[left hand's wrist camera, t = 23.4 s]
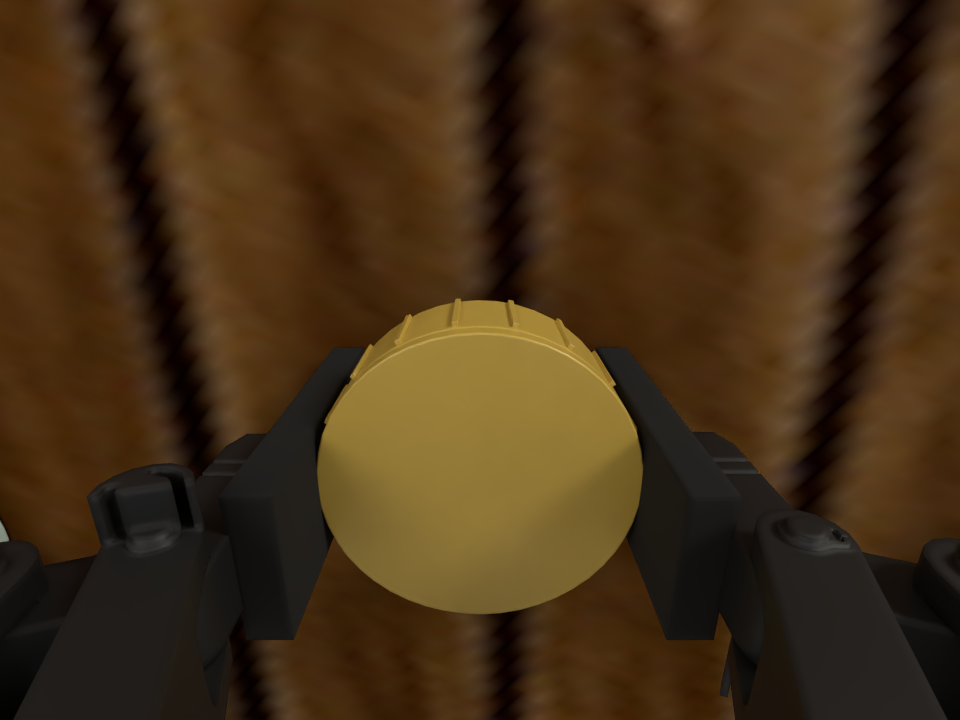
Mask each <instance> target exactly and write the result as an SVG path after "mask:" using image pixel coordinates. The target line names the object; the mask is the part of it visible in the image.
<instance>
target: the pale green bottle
mask: <svg viewBox="0 0 960 720" xmlns="http://www.w3.org/2000/svg"><path fill="white" fill-rule="evenodd" d="M5 541H9V538H8V536H7V533H6V531H5V528H4V526H3V525H2V523H1V521H0V542H5Z"/></svg>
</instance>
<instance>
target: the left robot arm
mask: <svg viewBox="0 0 960 720" xmlns="http://www.w3.org/2000/svg"><path fill="white" fill-rule="evenodd" d="M596 353H597V355H598V356H599V358H600V359H601V361H602V363H603V364H604V366H605V368H606V369H607V371H608V373H609V374H610V376H611V377H612V379H613V381H614V382H615V384H616V385H615V386H613V388H614V390H615V391H616V393H617V395H618V397H619V398H620V400H621V402H622V403H623V405H624V407H625V408H626V410H627V412H628V414H629V415H630V417H631V419H632V420H633V422H634V424H635V425H636V427H637V436H638V439H639V443H640V446H641V451H642V459H643V476H642V485H641V493H640V501H639V507H638V510H637V513H636V516H635V519H634V521H633V523H632V525H631V527H630V529H629V531H628V533H627V535H626V537H627V539H628V542H629V544H630V547H631V550H632V552H633V555H634V557H635V560H636V562H637V565H638V568H639V570H640V573H641V575H642V578H643V580H644V583H645V585H646V588H647V591H648V593H649V596H650V598H651V601H652V603H653V606H654V609H655V611H656V614H657V616H658V619H659V621H660V624H661V626H662V629H663V632H664V634H665V637H666V639H667V640H714V635H715V630H716V625H717V620H718V615H719V611H720V613H721V615H722V617H723V619H724V621H725V623H726V625H727V627H728V628H729V630H730V632H731V634H732V637H731V641H730V646H729V650H728V655H727V660H726V664H725V669H724V674H723V678H722V683H721V690H720V695H721V696H725V697H728V692H729V688H730V685H731V690H732V698H733V705H734V713H735V720H960V539H953V538H942V539H932V540H931V541H930V542H928V543H927V544H925V545H924V547H923V550H922V552H921V555H920V558H919V561H918V564H917V563H912V562H907V561H902V560H897V559H892V558H887V557H882V556H877V555H872V554H868V553H864V552H862V551H861V549H860V547H859V545H858V544H857V543H856V542H855V540H854V539H853V538H852V537H851V536H850V534H849V533H847V532H846V531H844V530H843V529H842V528H840V527H839V526H837V525H836V524H834V523H833V522H830V521H828V520H826V519H824V518H821V517H819V516H817V515H814V514H811V513H807V512H803V511H799V510H793V509H792V508H791V507H790V506H789V505H788V504H787V503H786V502H785V501H784V499H783V498H782V497H781V496H780V495H779V494H778V493H777V492H776V491H775V489H774V488H773V487H772V486H771V485H770V484H769V483H768V482H767V481H766V479H765V478H764V477H763V476H762V475H761V474H758V470H757V469H756V468H755V467H754V466H753V465H752V464H751V463H750V462H747V458H746V457H745V456H744V455H743V454H742V453H741V451H740V450H739V449H738V448H737V447H736V446H735V445H734V444H733V443H731V442H729V441H727V440H726V439H724V438H722V437H721V436H719V435H717V434H716V433H714V432H691V431H690V429H689V428H688V427H687V425H686V424H685V423H684V422H683V420H682V419H681V418H680V416H679V415H678V414H677V413H676V411H675V410H674V409H673V407H672V406H671V405H670V404H669V402H668V401H667V400H666V399H665V397H664V396H663V395H662V393H661V392H660V391H659V390H658V388H657V387H656V386H655V384H654V383H653V382H652V381H651V379H650V378H649V377H648V375H647V374H646V373H645V372H644V370H643V369H642V368H641V366H640V365H639V364H638V363H637V361H636V360H635V359H634V358H633V356H632V355H631V354H630V352H629V351H628V350H627V349H626V348H597V349H596ZM363 354H364V348H334V349H333V350H332V351H331V353H330V354H329V355H328V356H327V358H326V359H325V360H324V362H323V363H322V364H321V365H320V367H319V368H318V369H317V371H316V372H315V373H314V374H313V376H312V377H311V378H310V380H309V381H308V382H307V383H306V385H305V386H304V387H303V389H302V390H301V391H300V392H299V394H298V395H297V396H296V397H295V399H294V400H293V401H292V403H291V404H290V405H289V406H288V408H287V409H286V410H285V412H284V413H283V414H282V415H281V417H280V418H279V419H278V421H277V422H276V423H275V424H274V426H273V427H272V428H271V430H270V431H269V432H268V433H267V434H246V435H245V436H243V437H241V438H239V439H238V440H236V441H234V442H233V443H231V444H229V445H228V446H226V447H225V448H224V449H223V451H222V452H221V453H220V454H219V455H218V456H217V457H216V458H215V460H214V462H213V464H210V465H209V466H208V467H207V469H206V470H205V471H204V472H203V476H199V478H198V479H197V480H196V481H195V479H194V474H193V471H191V470H190V469H189V468H187V467H186V466H183V465H177V464H172V463H168V464H152V465H148V466H143V467H139V468H134V469H131V470H129V471H126V472H123V473H121V474H118V475H116V476H113V477H111V478H110V479H108V480H106V481H105V482H103V483H101V484H100V485H98V486H97V487H96V488H95V489H94V490H93V491H92V492H91V493H90V494H89V495H88V496H87V499H88V503H89V506H90V509H91V512H92V516H93V519H94V522H95V526H96V529H97V532H98V536H99V539H100V542H101V548H100V550H99V552H98V554H97V555H94V556H90V557H85V558H80V559H75V560H70V561H65V562H60V563H55V564H50V565H45V566H43V563H42V560H41V557H40V554H39V552H38V549H37V547H35V546H34V545H32V544H31V543H29V542H25V541H14V540H12V541H5V542H0V720H225V714H226V707H227V699H228V691H229V684H230V676H231V668H232V661H233V659H232V652H231V646H230V641H229V636H230V634H231V632H232V630H233V628H234V626H235V624H236V622H237V620H238V618H239V617H240V615H241V614H242V619H243V624H244V629H245V634H246V639H247V640H294V637H295V635H296V632H297V630H298V627H299V624H300V622H301V619H302V617H303V614H304V612H305V609H306V607H307V604H308V601H309V599H310V596H311V594H312V591H313V589H314V586H315V583H316V581H317V578H318V576H319V573H320V571H321V568H322V565H323V563H324V560H325V558H326V555H327V553H328V550H329V548H330V545H331V542H332V540H333V537H334V536H333V534H332V532H331V531H330V529H329V527H328V525H327V522H326V520H325V517H324V514H323V512H322V509H321V502H320V494H319V486H318V477H317V455H318V450H319V446H320V442H321V438H322V434H323V431H324V429H325V427H326V424H325V423H324V422H325V419H326V417H327V416H328V414H329V412H330V411H331V409H332V407H333V406H334V404H335V402H336V400H337V399H338V397H339V395H340V394H341V392H342V390H343V389H344V387H345V385H346V384H347V385H348V384H349V382H350V381H351V378H350V376H351V374H352V372H353V371H354V369H355V367H356V366H357V364H358V362H359V361H360V359H361V357H362V356H363Z"/></svg>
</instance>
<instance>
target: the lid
mask: <svg viewBox="0 0 960 720" xmlns="http://www.w3.org/2000/svg"><path fill="white" fill-rule="evenodd" d="M350 378H351V381H350V382H349V384H348V385H347V384H346V385H345V387H344V389H343V390H342V392H341V394H340V395H339V397H338V399H337V400H336V402H335V404H334V406H333V407H332V409H331V411H330V412H329V414H328V416H327V417H326V419H325V422H324V423H325V424H326V427H325V429H324V431H323V434H322V438H321V442H320V446H319V450H318V455H317V477H318V486H319V494H320V502H321V509H322V512H323V514H324V517H325V520H326V522H327V525H328V527H329V529H330V531H331V532H332V534H333V536H334V538H335V540H336V542H337V543H338V544H339V546H340V547H341V548H342V550H343V551H344V552H345V554H346V555H347V556H348V557H349V558H350V560H351V561H352V562H353V563H354V564H355V565H356V566H357V567H358V568H359V569H360V570H361V571H363V572H364V573H365V574H366V575H367V576H369V577H370V578H371V579H372V580H374V581H375V582H376V583H378V584H380V585H381V586H383V587H384V588H386V589H387V590H389V591H391V592H393V593H395V594H397V595H399V596H401V597H403V598H405V599H407V600H410V601H412V602H415V603H418V604H421V605H423V606H427V607H431V608H435V609H439V610H443V611H449V612H457V613H466V614H491V613H503V612H509V611H515V610H521V609H525V608H528V607H532V606H536V605H539V604H541V603H544V602H547V601H549V600H552V599H554V598H557V597H559V596H560V595H562V594H564V593H566V592H568V591H570V590H572V589H574V588H575V587H577V586H578V585H580V584H581V583H583V582H584V581H586V580H587V579H588V578H590V577H591V576H592V575H593V574H594V573H595V572H597V571H598V570H599V569H600V568H601V567H602V566H603V565H604V564H605V563H606V562H607V561H608V560H609V559H610V558H611V556H612V555H613V554H614V553H615V552H616V550H617V549H618V547H619V546H620V545H621V543H622V542H623V540H624V539H625V537H626V535H627V533H628V531H629V529H630V527H631V525H632V523H633V521H634V519H635V516H636V513H637V510H638V507H639V501H640V493H641V485H642V476H643V459H642V451H641V446H640V443H639V439H638V436H637V427H636V425H635V424H634V422H633V420H632V419H631V417H630V415H629V414H628V412H627V410H626V408H625V407H624V405H623V403H622V402H621V400H620V398H619V397H618V395H617V393H616V391H615V390H614V388H613V386H615V385H616V384H615V382H614V381H613V379H612V377H611V376H610V374H609V373H608V371H607V369H606V368H605V366H604V364H603V363H602V361H601V359H600V358H599V356H598V355H597V353H596V352H595V351H593V352H592V353H591V352H590V351H589V349H588V348H587V347H586V346H585V345H584V344H583V343H582V341H581V340H580V339H578V338H577V337H576V336H575V335H574V334H573V333H571V332H570V331H569V330H568V329H567V328H565V327H564V325H563V323H562V321H561V320H560V319H558V318H557V319H556V321H554V320H553V319H551V318H549V317H547V316H545V315H543V314H541V313H538V312H536V311H534V310H531V309H528V308H525V307H522V306H518V305H515V304H514V301H511V300H508V303H504V302H498V301H481V300H476V301H463V302H461V299H455V303H450V304H446V305H441V306H437V307H435V308H432V309H429V310H426V311H423V312H421V313H419V314H417V315H415V316H413V317H412V316H411V314H409V315H407V316H406V317H405V319H404V321H403V322H402V323H400V324H399V325H397V326H396V327H394V328H393V329H392V330H390V331H389V332H388V333H387V334H386V335H384V336H383V337H382V338H381V339H380V340H379V341H378V342H377V343H376V344H375V345H374V346H372V345H371V344H370V345H369V346H368V347H367V349H366V351H365V352H364V354H363V356H362V357H361V359H360V361H359V362H358V364H357V366H356V367H355V369H354V371H353V372H352V374H351V376H350Z"/></svg>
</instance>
